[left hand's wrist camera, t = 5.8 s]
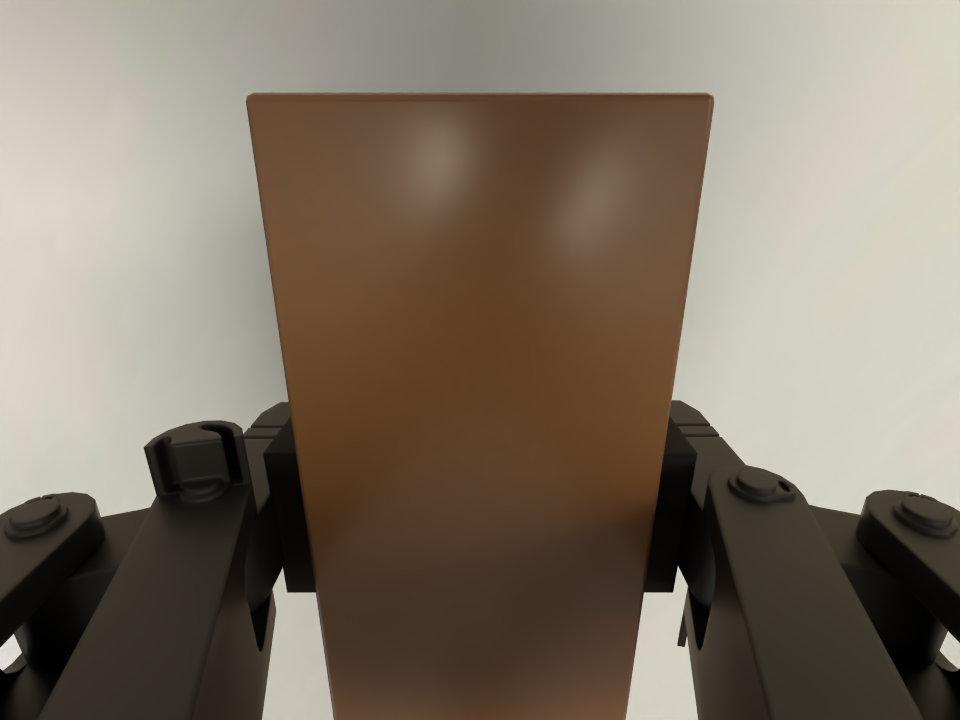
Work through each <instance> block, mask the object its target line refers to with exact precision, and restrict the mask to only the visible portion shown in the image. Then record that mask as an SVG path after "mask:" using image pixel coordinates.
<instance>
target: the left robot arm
mask: <svg viewBox="0 0 960 720" xmlns="http://www.w3.org/2000/svg"><path fill="white" fill-rule="evenodd" d="M144 451H145V454H146V458H147V462H148V465H149V469H150V473H151V476H152V480H153V484H154V487H155V491H156V495H157V496H156V498H155V500H154V502H153V504H152V506H151V507H150V508H146V509H142V510H137V511H131V512H126V513H121V514H115V515H110V516H105V517H101V516H100V513H99V510H98V507H97V504H96V501H95V499H93V498H92V497H91V496H89V495H88V494H83V493H75V492H70V493H61V494H50V495H45V496H43V497H42V498H40V497H37V498H34V499H31V500H28V501H26V502H25V503H24V504H21V505H19V506H17V507H14V508H12V509H9V510H8V511H6V512H4V513H3V514H1V515H0V647H1V646H2V645H3V644H4V643H5V642H6V641H7V640H8V639H9V638H10V637H11V636H12V635H13V634H14V635H15V637H16V640H17V642H18V644H19V646H20V649H21V651H22V653H21V655H20V656H19V657H18V658H17V659H16V660H15V661H14V662H13V663H12V664H11V665H10V666H8V667H7V668H6V669H5V670H3V671H2V670H1V669H0V720H262V714H263V707H264V699H265V691H266V684H267V676H268V669H269V661H270V654H271V646H272V639H273V631H274V623H275V616H276V607H275V600H274V595H273V590H272V588H273V586H274V584H275V582H276V580H277V578H278V576H279V574H280V572H281V570H282V568H283V570H284V576H285V582H286V587H287V592H316V589H315V582H314V575H313V568H312V561H311V554H310V547H309V540H308V533H307V526H306V519H305V512H304V505H303V498H302V491H301V483H300V476H299V469H298V462H297V455H296V448H295V441H294V434H293V427H292V420H291V413H290V406H289V402H280V403H278V404H277V405H275V406H273V407H272V408H270V409H268V410H266V411H265V412H263V413H261V415H260V416H259V417H258V418H257V419H256V420H255V422H254V423H253V424H252V425H251V428H249V429H248V430H247V431H246V432H245V433H244V434H243V431H242V428H241V427H239V426H238V425H237V424H235V423H232V422H227V421H222V420H221V421H202V422H196V423H191V424H186V425H183V426H180V427H177V428H174V429H171V430H168V431H166V432H164V433H162V434H161V435H159V436H157V437H155V438H153V439H152V440H151V441H150V442H149V443H148V444H147V445H146V446H145V447H144ZM678 566H679V568H680V570H681V572H682V574H683V576H684V578H685V580H686V583H687V585H688V590H687V595H686V600H685V605H684V611H683V616H682V621H681V627H680V632H679V638H678V645H677V646H682V647H685V642H686V637H688V645H689V652H690V660H691V667H692V675H693V683H694V690H695V698H696V705H697V713H698V720H960V669H958V668H956V667H955V666H954V665H953V664H952V663H951V662H949V661H948V660H947V658H946V657H945V656H944V655H943V654H942V653H941V652H940V651H939V650H940V648H941V646H942V643H943V641H944V639H945V637H946V634H947V632H948V631H949V632H950V633H951V634H952V635H953V636H954V637H955V638H956V639H957V640H958V641H959V642H960V511H958V510H956V509H955V508H953V507H951V506H949V505H946V504H944V503H941V502H939V501H937V500H936V499H934V498H932V497H929V496H926V495H922V494H921V495H919V493H914V492H909V491H905V492H904V491H895V490H883V491H875V492H873V493H872V494H870V495H869V496H867V497H866V500H865V503H864V506H863V509H862V512H861V515H858V514H852V513H847V512H842V511H836V510H831V509H826V508H820V507H816V506H812V505H808V503H807V501H806V499H805V497H804V495H803V494H802V493H801V492H800V491H799V489H798V488H797V487H796V486H795V485H794V484H792V483H791V482H789V481H788V480H786V479H785V478H783V477H781V476H780V475H777V474H775V473H772V472H770V471H767V470H765V469H761V468H756V467H752V466H747V465H745V464H744V462H743V461H742V460H741V459H740V458H739V457H738V456H737V454H736V453H735V452H734V451H733V450H732V449H731V448H730V446H729V445H728V444H727V443H726V442H725V441H724V439H723V438H722V437H719V434H718V433H717V431H716V430H715V429H714V428H713V427H712V426H710V423H709V422H708V421H707V420H706V419H705V418H704V417H703V415H702V414H701V413H700V412H699V411H698V410H696V409H694V408H692V407H691V406H689V405H687V404H685V403H684V402H682V401H677V400H671V407H670V414H669V420H668V427H667V434H666V441H665V448H664V455H663V462H662V469H661V476H660V483H659V490H658V497H657V504H656V511H655V518H654V525H653V532H652V539H651V546H650V553H649V560H648V567H647V574H646V581H645V587H644V592H673V590H674V584H675V578H676V573H677V567H678Z"/></svg>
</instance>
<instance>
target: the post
mask: <svg viewBox="0 0 960 720" xmlns="http://www.w3.org/2000/svg"><path fill="white" fill-rule="evenodd" d="M246 104H247V111H248V118H249V125H250V132H251V139H252V146H253V153H254V160H255V167H256V174H257V181H258V188H259V195H260V202H261V210H262V217H263V224H264V231H265V238H266V245H267V252H268V259H269V266H270V273H271V280H272V287H273V294H274V301H275V308H276V315H277V322H278V329H279V336H280V343H281V350H282V357H283V364H284V371H285V378H286V385H287V392H288V399H289V406H290V413H291V420H292V427H293V434H294V441H295V448H296V455H297V462H298V469H299V476H300V483H301V491H302V498H303V505H304V512H305V519H306V526H307V533H308V540H309V547H310V554H311V561H312V568H313V575H314V582H315V589H316V596H317V603H318V610H319V617H320V624H321V631H322V638H323V645H324V652H325V659H326V666H327V673H328V680H329V687H330V694H331V701H332V708H333V715H334V720H626V713H627V706H628V699H629V692H630V685H631V678H632V671H633V664H634V657H635V650H636V643H637V636H638V629H639V622H640V615H641V608H642V601H643V594H644V587H645V581H646V574H647V567H648V560H649V553H650V546H651V539H652V532H653V525H654V518H655V511H656V504H657V497H658V490H659V483H660V476H661V469H662V462H663V455H664V448H665V441H666V434H667V427H668V420H669V414H670V407H671V400H672V393H673V386H674V379H675V372H676V365H677V358H678V351H679V344H680V337H681V330H682V323H683V316H684V309H685V302H686V295H687V288H688V281H689V274H690V267H691V260H692V253H693V247H694V240H695V233H696V226H697V219H698V212H699V205H700V198H701V191H702V184H703V177H704V170H705V163H706V156H707V149H708V142H709V135H710V128H711V121H712V114H713V107H714V98H713V96H712V95H710V94H708V93H253V94H251V95H249V96H247V100H246Z"/></svg>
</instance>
